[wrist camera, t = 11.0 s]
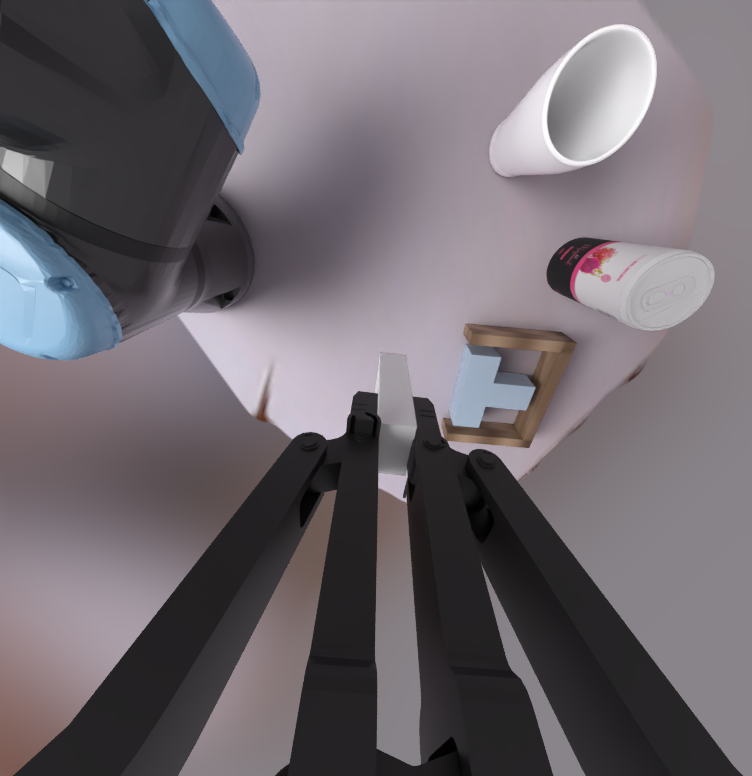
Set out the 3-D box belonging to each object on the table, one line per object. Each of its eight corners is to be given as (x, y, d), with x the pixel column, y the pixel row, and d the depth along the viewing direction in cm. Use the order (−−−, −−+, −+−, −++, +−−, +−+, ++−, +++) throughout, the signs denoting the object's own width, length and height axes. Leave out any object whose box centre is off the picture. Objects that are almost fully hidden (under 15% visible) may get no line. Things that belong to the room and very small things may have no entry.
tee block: (449, 410, 49) (453, 425, 46) (465, 343, 43) (471, 354, 39) (508, 416, 49) (517, 431, 46) (534, 349, 43) (546, 361, 39)
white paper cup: (559, 143, 31) (679, 94, 18) (505, 200, 34) (576, 192, 21) (521, 85, 29) (627, -19, 16) (467, 150, 32) (520, 107, 19)
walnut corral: (441, 425, 50) (445, 440, 47) (465, 323, 41) (472, 333, 38) (519, 432, 51) (529, 447, 47) (561, 332, 41) (576, 342, 38)
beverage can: (541, 252, 36) (624, 273, 23) (599, 227, 35) (722, 235, 22) (548, 301, 39) (626, 343, 26) (602, 280, 38) (713, 314, 25)
